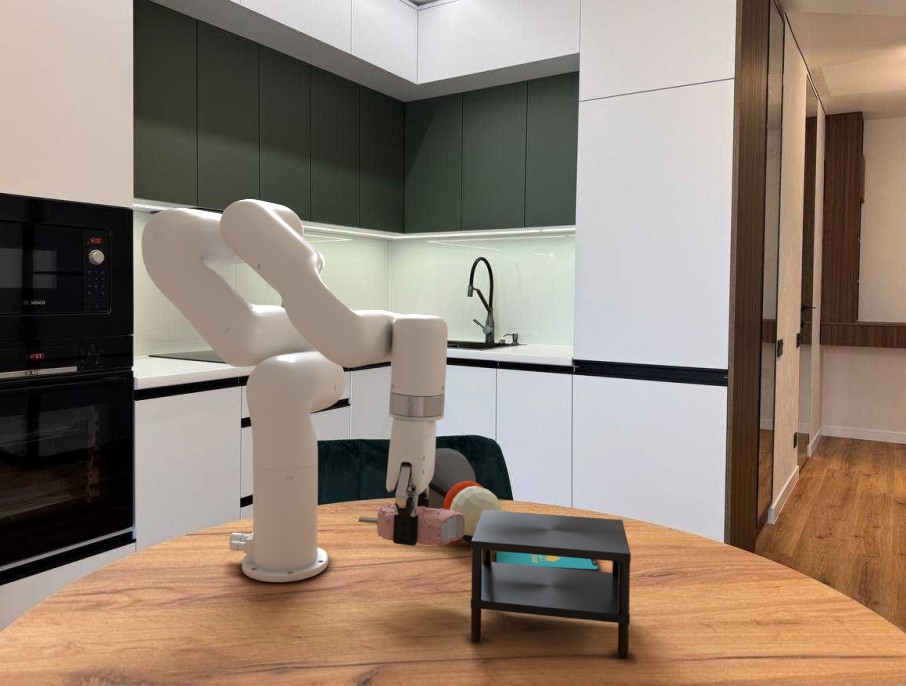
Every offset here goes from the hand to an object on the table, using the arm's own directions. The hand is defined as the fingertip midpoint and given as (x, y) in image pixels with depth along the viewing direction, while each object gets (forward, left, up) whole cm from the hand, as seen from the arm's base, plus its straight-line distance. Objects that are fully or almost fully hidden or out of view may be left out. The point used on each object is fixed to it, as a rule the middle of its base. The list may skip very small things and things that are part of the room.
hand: (410, 533), depth 96 cm
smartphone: (+18, +14, -8) cm, 24 cm away
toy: (0, +27, -8) cm, 28 cm away
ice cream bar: (0, 0, -1) cm, 1 cm away
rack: (+19, -6, -8) cm, 21 cm away
